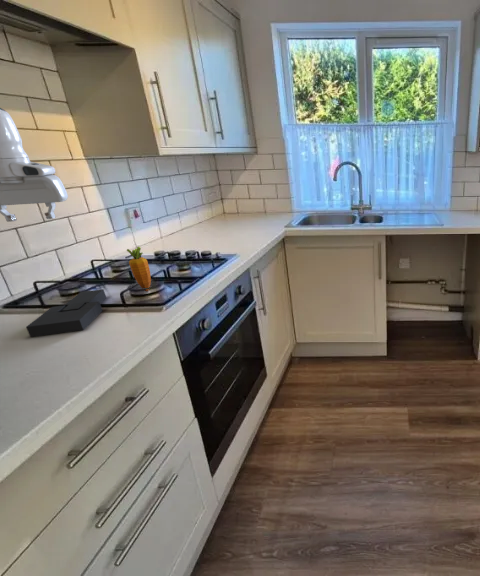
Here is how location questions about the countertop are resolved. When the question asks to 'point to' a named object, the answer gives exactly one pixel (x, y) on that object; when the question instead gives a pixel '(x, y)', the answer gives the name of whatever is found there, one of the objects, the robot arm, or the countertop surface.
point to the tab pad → (85, 299)
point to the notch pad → (64, 320)
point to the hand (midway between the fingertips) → (31, 219)
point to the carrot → (140, 268)
